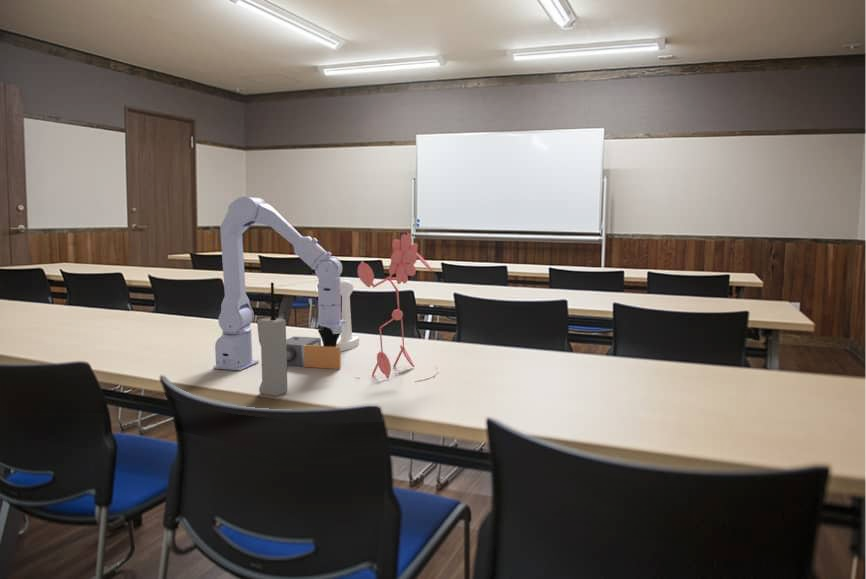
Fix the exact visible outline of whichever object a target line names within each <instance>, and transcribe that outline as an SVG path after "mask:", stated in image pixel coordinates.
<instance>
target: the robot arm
mask: <svg viewBox="0 0 866 579" xmlns="http://www.w3.org/2000/svg"><path fill="white" fill-rule="evenodd" d="M227 209H228V210H227V212H226V214H225V216H224V218H223V220H222V222H221V224H220V228H219V229H220V244H221V246H220V247H221V258H222V260H221V261H222V274H223V275H222V276H223V288H224V289H223V290H224V297H223V300H222V301H221V305H220V309H221V310H220V313H219V316H218V320H217V321H218V326H219V327H220V329H221V330H222V333H221V335H220V337H218V338H217V339H216V341H215V344H214V349H215V350H214V352H215V354H214V355H215V365H214V366H212V367H213V369H217V370H219V369H220V370H230V371H231V370H232V371H242V370H244V369H246V368H247V369H248V368H249V367H251V366H253V365H256V364H258V363H260V360H258V359H253V338H252V328H251V324H252V323H253V321H254V318H255V314H254V313H255V312H254V310H253V308H252V307H251V304H250V299H249V297H248V295H247V291H246V279H245V278H246V276H245V260H244V259H245V258H244V244H243V233H244V232H246V231H247V230H248V229H249V228H250V227H251V226H252V225H254V224H261V225H266V226H269V227H270V228H272V229H273V230H274V231H275V232H276V233H278V234H279V235H280V236H281V237H283V239H285V240H286V241H287V242H288V243H289V244H291V245H292V246H293V253H294V254H295V255H296V256H298V257H299V258H300V260H302V261H303V262H304V263H305V264H306V265H308V267H310V268H311V270H314V272H315V275H316V277H317V279H318V287H317V291H318V293H317V294H318V296H317V299H318V300H317V302H318V303H317V304H318V309H317V310H318V320H317V325H318V326H321V327H323V328H320V329H318V330H317V331H318V334H319V336H320V338H321V342H322V344H323V345H322V346H332V347H336V343H337V340H338V338H340V336H341V324H344V323H345V320H342V295H341V286H340V282H341V277H340V276H341V274H342V273H343V263H342V262H341V261H340V260H339V258H338V257H336V256H333V255H332V253H331V251H326V250H325V249H324V248H323V247H322V246H321V245H320V244H319V243H318V242H319V240H318V239H317V238H316V237H313V238H312V237H311V236H309V235H308V236H303V235H302V234H301V233H299V232H298V231H297V229H296V228H294V226H293V225H292V224H290V223H289V222H288V221H287V220H286V218H284V217H283V216H282V215H281V214H280V213H279V212H278V211H277V210H276V209H275V208H274V207H273V205H272V206H271V204H269V203H266V201H265V200H264V199H263V198H260V197H258V196H252V197H251V196H239V197H237V198H235V200H233V201H231V203H230V204H229V205H228V208H227Z"/></svg>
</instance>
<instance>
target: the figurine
mask: <svg viewBox="0 0 866 579" xmlns="http://www.w3.org/2000/svg"><path fill="white" fill-rule="evenodd" d="M412 243H413V239H412V234H411V233H407V234H404V233H403V234H402V235H401V236H400V239H398V238H395V239H394V240H392V243H391V246H392V249H393V250H392V251H393V252H392V254H391V256H390V264H389V268H388V274H389V276H387V277H386V278H384V279H383V280H380V281H379V282H377V283H375V284H374V280H375V274H374V272H373V269H372V268H371V267H370V265H369V264H368V263H365V262H364V260H362V261H361V262H360V264H358V266H357V276H358V278H359V280H360V282H362V284H364V285H365V286H366V287H367V288H370V287H372V288H373V289H374V288H376V287H377V286H380V285H381V284H383V283H385V282H387V281H388V282H390V283H391V285H392V287H393V288H394V289H395V292H396V302H397V303H396V304H397V309H394V310H393V311H392V312H391V317H392V318H391V319H390V320H388V321H387V322H385V323H384V324H382V325H381V326H380V327H379V338H380V351H379V352H378V353H377V354H376V355H377V356H376V362H377V363H376V364H375V366H374V369H373V371H372V375H375V373H376V371H377V369H378V368H379V370H380V372H381V373H382V374H383V375H384V377H386V379H389V378H390V375H391V371H392V368H391V367H394V368H396V366H397V364H398V361H399V359H400V358H401V355H402V354H403V355H404V357H405V358H406V360H407V361H408V363H409V364H410V365H411V366H412V367H413V368H414V367H415V365H414V363H413V361H412V358H411V357H410V355H409V353H408V352H407V350H406V348H405V340H404V339H405V338H404V324H403V323H404V322H403V316H404V314H403V311H402V310H401V309H400V296H399V295H400V293H399V289H398V287H397V286H396V285H395V282H393V281H395V280H396V284H397V285H401V283H403V284H407V283H408V279H409V278H408V276H410V277H413V276H415V275H416V272H417V270H416V267H415V264H416V262H417V260H420V262H421V263H422V264H423V265H424V266H425V267H426V268H427V269H429V271H431V272H434V270H433V269H432V267H431V266H430V265H429V263H428V262H427V261H426V260H425V259H424V257H422V255H420V253H419V252H418V249H419V248H418V247H419V246H418V243H417V242H415V243H413V244H412ZM394 274H395V277H392V276H393V275H394ZM394 320H395V321H400V324H401V325H400V326H401V337H402V344H400V345H399V347H400V351H399V353H398V355H397V357H396V359H395V361H394V364H393V366H391V361H390V360H389V357H388V355H387V354H386V353H385V352H384V349H383V339H382V338H383V337H382V336H383V335H382V328H383V327H385V326H386V325H388V324H389V323H392V321H394ZM434 368H435V369H436V370H438V368H437V367H436V366H434ZM438 373H439V372H438V371H437V372H436V374H435V375H433V376H431V377H429V378H424V379H420V380H419V382H422V381H426V380H429V379H434V378H435V376H436V375H438ZM355 378H356V379H358V380H360V378H359V377H357V376H356V377H355ZM414 382H415V383H416V382H418V380H416V381H414Z"/></svg>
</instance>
